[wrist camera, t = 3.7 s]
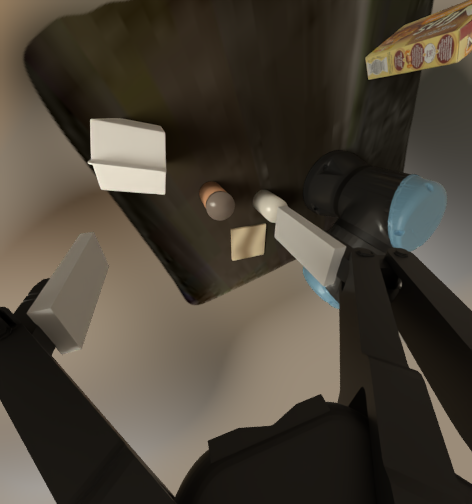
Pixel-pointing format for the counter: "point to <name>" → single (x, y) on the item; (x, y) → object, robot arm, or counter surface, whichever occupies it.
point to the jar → (216, 201)
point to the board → (248, 241)
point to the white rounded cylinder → (268, 204)
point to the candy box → (425, 43)
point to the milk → (128, 155)
